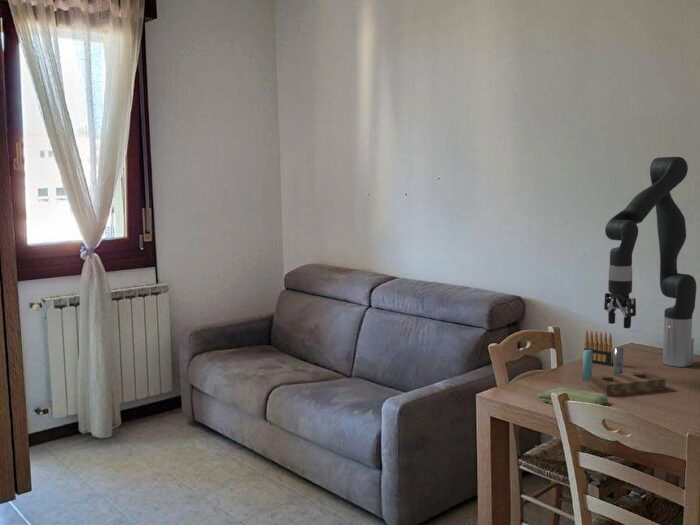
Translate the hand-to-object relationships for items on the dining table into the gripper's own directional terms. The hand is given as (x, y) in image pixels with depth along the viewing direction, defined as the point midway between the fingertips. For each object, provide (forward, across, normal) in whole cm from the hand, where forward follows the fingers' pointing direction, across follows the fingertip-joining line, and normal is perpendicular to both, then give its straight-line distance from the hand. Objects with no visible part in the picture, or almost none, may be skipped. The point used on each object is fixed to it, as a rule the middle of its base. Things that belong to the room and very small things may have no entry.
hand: (619, 325), depth 246 cm
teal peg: (+18, 0, +12) cm, 21 cm away
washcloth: (+18, -20, +30) cm, 41 cm away
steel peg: (+18, 0, 0) cm, 18 cm away
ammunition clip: (+18, +18, -4) cm, 26 cm away
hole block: (+18, -13, +6) cm, 23 cm away
